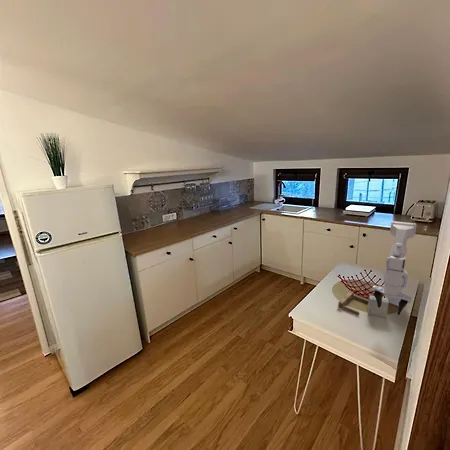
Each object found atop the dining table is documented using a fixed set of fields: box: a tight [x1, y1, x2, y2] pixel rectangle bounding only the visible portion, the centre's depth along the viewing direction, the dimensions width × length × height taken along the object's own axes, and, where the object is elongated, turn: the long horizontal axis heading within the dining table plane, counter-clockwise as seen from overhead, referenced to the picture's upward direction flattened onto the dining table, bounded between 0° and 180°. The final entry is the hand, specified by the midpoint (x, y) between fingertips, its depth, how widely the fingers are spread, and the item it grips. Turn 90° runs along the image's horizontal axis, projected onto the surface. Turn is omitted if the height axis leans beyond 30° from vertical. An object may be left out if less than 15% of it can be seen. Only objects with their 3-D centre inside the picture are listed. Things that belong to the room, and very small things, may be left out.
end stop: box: [337, 290, 369, 316], centre depth 133 cm, size 14×10×3 cm
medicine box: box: [367, 294, 390, 319], centre depth 124 cm, size 8×4×9 cm, turn 65°
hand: (388, 310), depth 112 cm, fingers open, 7 cm apart
